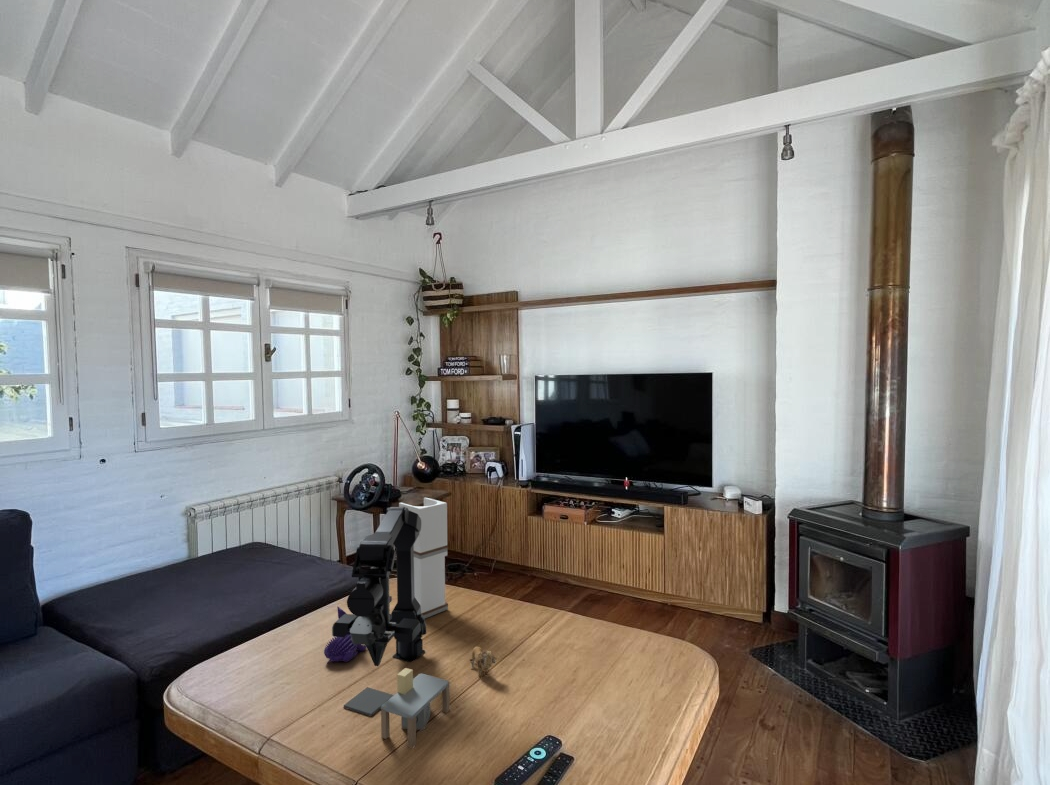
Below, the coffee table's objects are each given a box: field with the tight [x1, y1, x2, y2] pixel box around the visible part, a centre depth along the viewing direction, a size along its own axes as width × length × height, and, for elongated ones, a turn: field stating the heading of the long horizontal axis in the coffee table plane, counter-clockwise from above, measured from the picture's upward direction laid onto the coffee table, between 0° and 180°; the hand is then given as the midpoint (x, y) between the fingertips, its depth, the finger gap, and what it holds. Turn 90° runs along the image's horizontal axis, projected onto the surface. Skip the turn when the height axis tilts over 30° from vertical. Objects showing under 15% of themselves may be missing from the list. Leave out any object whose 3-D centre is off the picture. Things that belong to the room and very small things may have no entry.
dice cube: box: [400, 702, 431, 731], centre depth 122 cm, size 5×5×5 cm
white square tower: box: [398, 497, 449, 620], centre depth 179 cm, size 11×11×35 cm
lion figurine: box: [469, 646, 498, 680], centre depth 142 cm, size 12×4×7 cm, turn 33°
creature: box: [323, 606, 367, 665], centre depth 152 cm, size 9×18×12 cm, turn 161°
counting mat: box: [343, 686, 395, 717], centre depth 129 cm, size 8×8×1 cm
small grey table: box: [380, 667, 451, 749], centre depth 121 cm, size 8×14×11 cm, turn 155°
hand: (377, 665), depth 123 cm, fingers closed
